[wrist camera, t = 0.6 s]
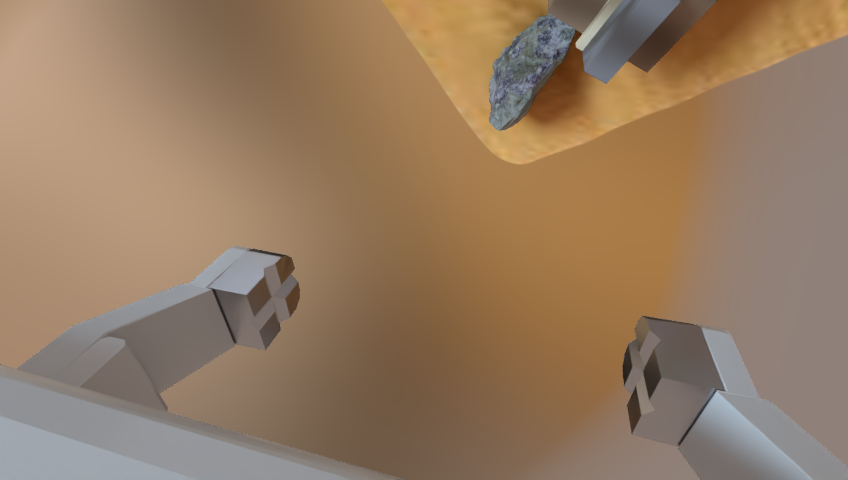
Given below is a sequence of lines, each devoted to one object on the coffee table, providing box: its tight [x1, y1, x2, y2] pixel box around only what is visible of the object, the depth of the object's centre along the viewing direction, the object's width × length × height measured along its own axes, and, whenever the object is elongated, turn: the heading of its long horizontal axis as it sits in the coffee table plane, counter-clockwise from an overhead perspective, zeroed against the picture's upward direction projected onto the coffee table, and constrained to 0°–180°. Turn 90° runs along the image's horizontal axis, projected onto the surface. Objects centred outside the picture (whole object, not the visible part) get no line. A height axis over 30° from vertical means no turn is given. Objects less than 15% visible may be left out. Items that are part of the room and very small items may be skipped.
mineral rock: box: [489, 13, 575, 131], centre depth 50 cm, size 13×11×10 cm
